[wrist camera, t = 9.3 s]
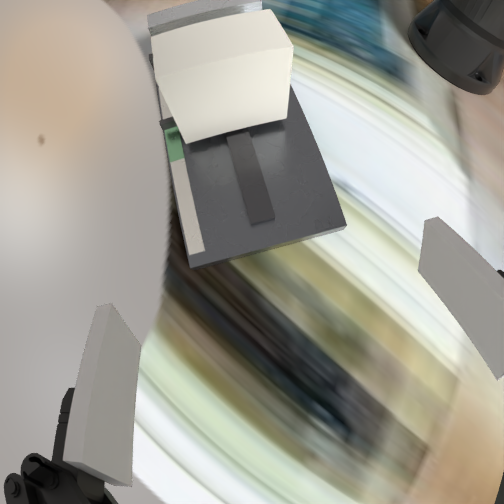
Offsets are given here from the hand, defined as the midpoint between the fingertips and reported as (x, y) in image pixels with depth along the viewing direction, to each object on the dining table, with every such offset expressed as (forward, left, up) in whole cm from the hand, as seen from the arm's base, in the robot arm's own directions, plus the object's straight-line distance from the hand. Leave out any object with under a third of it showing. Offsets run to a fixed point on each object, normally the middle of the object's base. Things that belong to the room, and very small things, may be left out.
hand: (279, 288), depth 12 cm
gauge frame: (-8, -12, -13) cm, 20 cm away
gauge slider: (-8, -14, -11) cm, 20 cm away
